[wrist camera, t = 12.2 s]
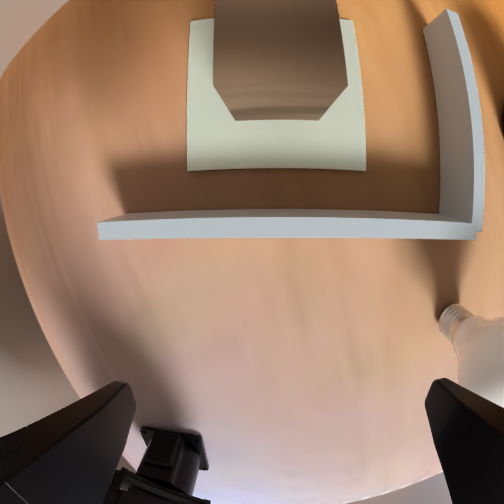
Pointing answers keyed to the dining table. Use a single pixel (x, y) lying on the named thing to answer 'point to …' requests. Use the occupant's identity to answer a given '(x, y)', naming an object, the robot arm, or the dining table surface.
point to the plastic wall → (365, 221)
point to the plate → (271, 121)
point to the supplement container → (503, 118)
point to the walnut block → (278, 58)
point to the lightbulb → (476, 351)
